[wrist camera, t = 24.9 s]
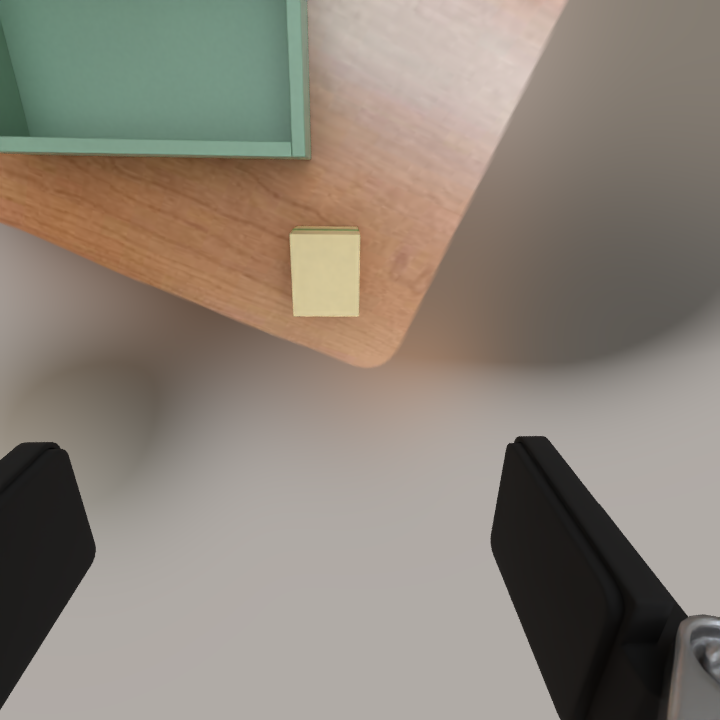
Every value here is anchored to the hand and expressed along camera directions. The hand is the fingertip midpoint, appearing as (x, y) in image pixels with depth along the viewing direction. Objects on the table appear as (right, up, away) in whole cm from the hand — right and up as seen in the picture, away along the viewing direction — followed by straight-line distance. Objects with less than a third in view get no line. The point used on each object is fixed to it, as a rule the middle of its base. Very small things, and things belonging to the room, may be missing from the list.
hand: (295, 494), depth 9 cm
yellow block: (-1, +10, +24) cm, 26 cm away
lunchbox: (-11, +23, +18) cm, 32 cm away
